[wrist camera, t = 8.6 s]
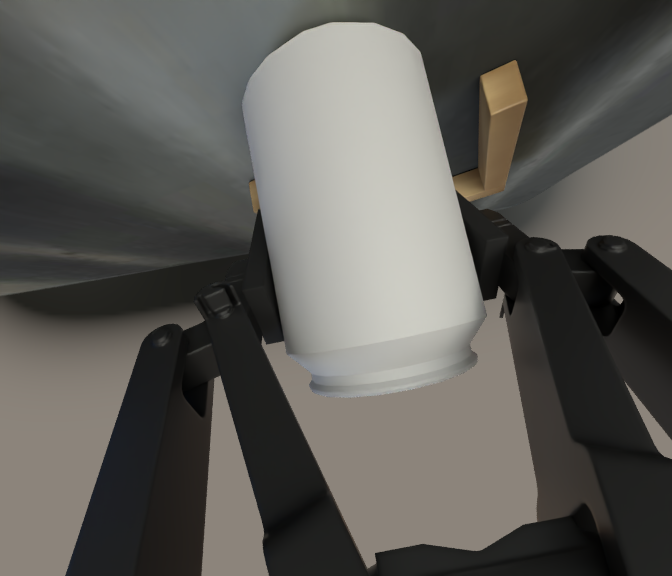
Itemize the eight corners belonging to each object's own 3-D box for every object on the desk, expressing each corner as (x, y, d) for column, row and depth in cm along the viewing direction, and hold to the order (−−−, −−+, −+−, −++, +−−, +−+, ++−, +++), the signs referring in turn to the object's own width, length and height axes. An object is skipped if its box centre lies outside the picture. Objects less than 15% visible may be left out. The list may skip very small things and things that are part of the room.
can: (463, 16, 11) (556, 359, 10) (370, 144, 18) (417, 352, 17) (242, -28, 8) (330, 436, 7) (235, 142, 15) (279, 389, 14)
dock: (332, 224, 31) (336, 244, 31) (248, 182, 19) (253, 212, 19) (497, 167, 25) (504, 190, 25) (516, 58, 13) (528, 99, 13)
